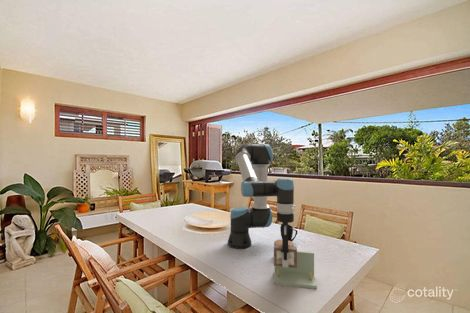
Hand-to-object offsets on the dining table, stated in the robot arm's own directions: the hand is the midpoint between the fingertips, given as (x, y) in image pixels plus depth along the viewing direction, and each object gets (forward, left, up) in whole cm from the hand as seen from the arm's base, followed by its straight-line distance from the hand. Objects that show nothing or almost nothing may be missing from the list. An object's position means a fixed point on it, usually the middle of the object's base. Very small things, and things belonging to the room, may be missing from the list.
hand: (285, 264), depth 103 cm
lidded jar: (-1, +25, -7) cm, 26 cm away
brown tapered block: (0, 0, 0) cm, 0 cm away
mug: (+2, +50, -7) cm, 51 cm away
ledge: (+4, +1, -7) cm, 8 cm away
